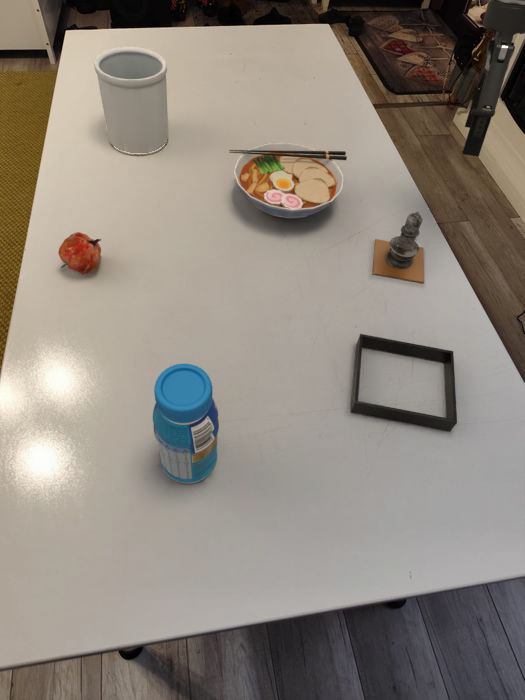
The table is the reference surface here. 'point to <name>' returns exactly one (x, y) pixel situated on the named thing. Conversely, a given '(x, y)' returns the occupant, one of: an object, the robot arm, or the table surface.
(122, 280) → the table surface
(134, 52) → the utensil holder
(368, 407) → the open square frame
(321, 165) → the ramen bowl
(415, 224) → the grey chess piece
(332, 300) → the table surface
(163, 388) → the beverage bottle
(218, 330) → the table surface
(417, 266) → the cork mat
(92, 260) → the pomegranate
